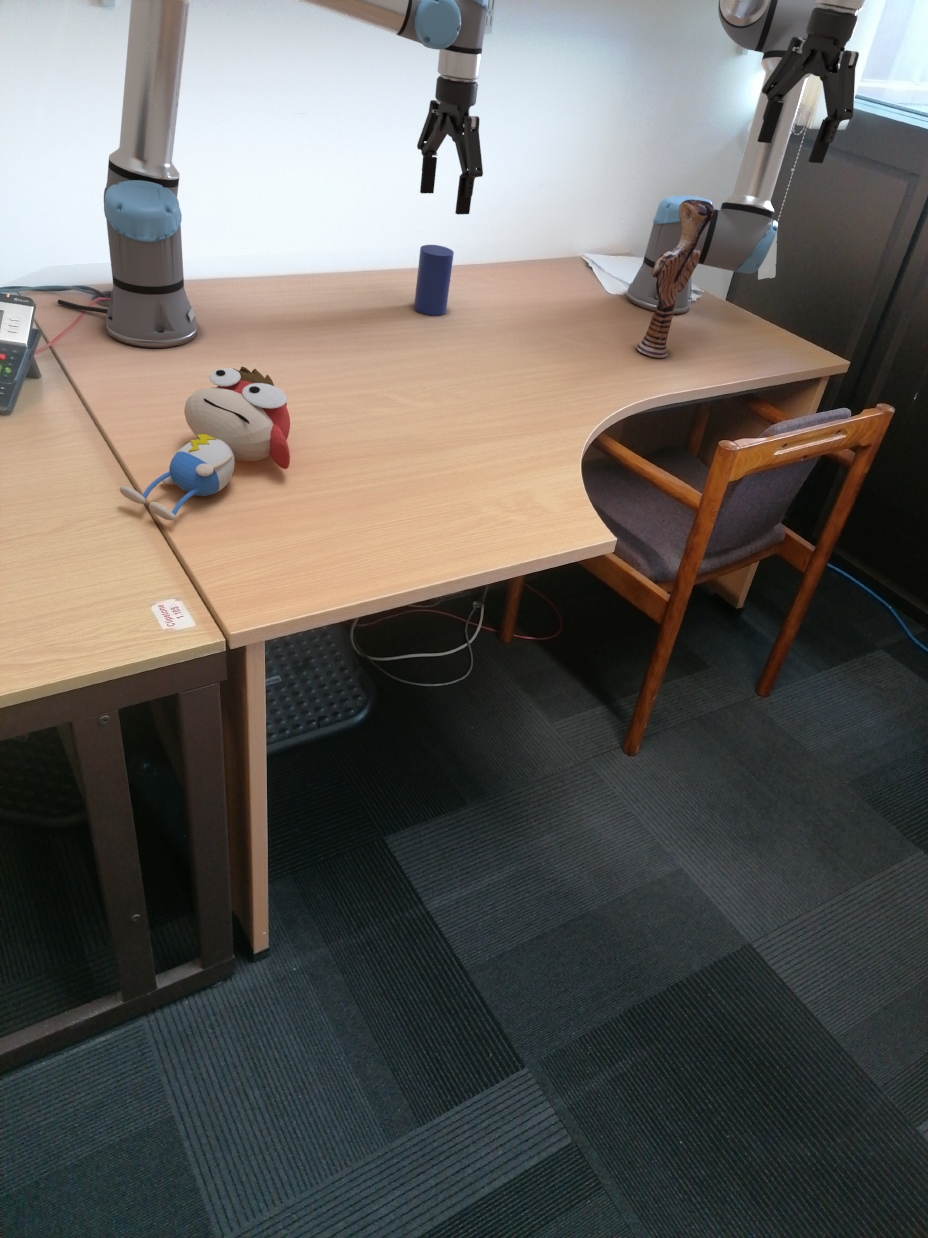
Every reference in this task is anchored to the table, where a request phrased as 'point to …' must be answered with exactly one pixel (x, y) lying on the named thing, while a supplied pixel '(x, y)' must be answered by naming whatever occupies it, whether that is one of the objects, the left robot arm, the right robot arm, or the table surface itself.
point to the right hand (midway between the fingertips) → (788, 151)
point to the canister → (433, 279)
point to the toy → (225, 435)
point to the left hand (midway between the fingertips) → (444, 203)
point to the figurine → (675, 274)
